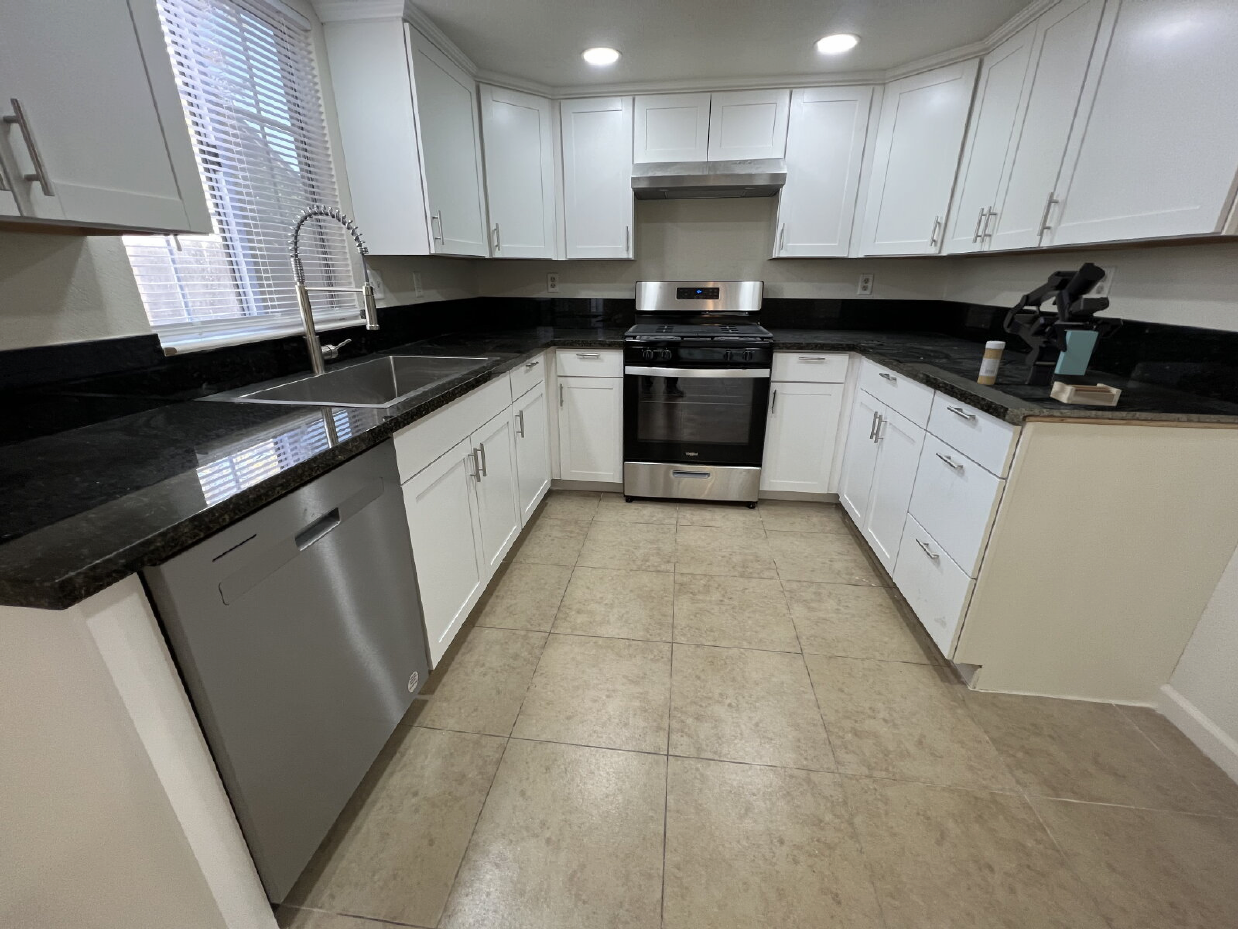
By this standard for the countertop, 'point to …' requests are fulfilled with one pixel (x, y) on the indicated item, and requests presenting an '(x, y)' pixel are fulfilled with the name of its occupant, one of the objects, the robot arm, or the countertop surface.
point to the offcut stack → (1090, 388)
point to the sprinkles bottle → (990, 362)
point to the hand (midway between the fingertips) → (1079, 351)
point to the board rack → (1085, 395)
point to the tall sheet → (1076, 352)
